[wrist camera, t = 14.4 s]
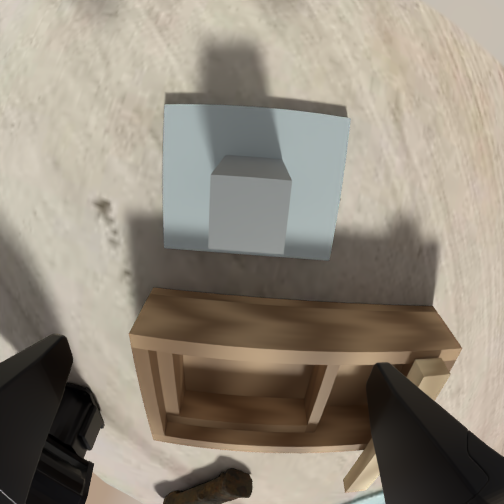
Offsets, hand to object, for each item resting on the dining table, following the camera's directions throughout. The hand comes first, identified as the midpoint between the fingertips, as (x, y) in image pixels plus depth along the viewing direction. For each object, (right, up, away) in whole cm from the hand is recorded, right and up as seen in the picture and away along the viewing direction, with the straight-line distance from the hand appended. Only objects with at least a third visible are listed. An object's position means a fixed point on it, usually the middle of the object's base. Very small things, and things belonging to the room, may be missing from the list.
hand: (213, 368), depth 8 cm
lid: (+1, +7, +10) cm, 12 cm away
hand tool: (-6, -29, +27) cm, 40 cm away
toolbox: (+4, -5, +15) cm, 16 cm away
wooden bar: (+11, -10, +12) cm, 19 cm away
